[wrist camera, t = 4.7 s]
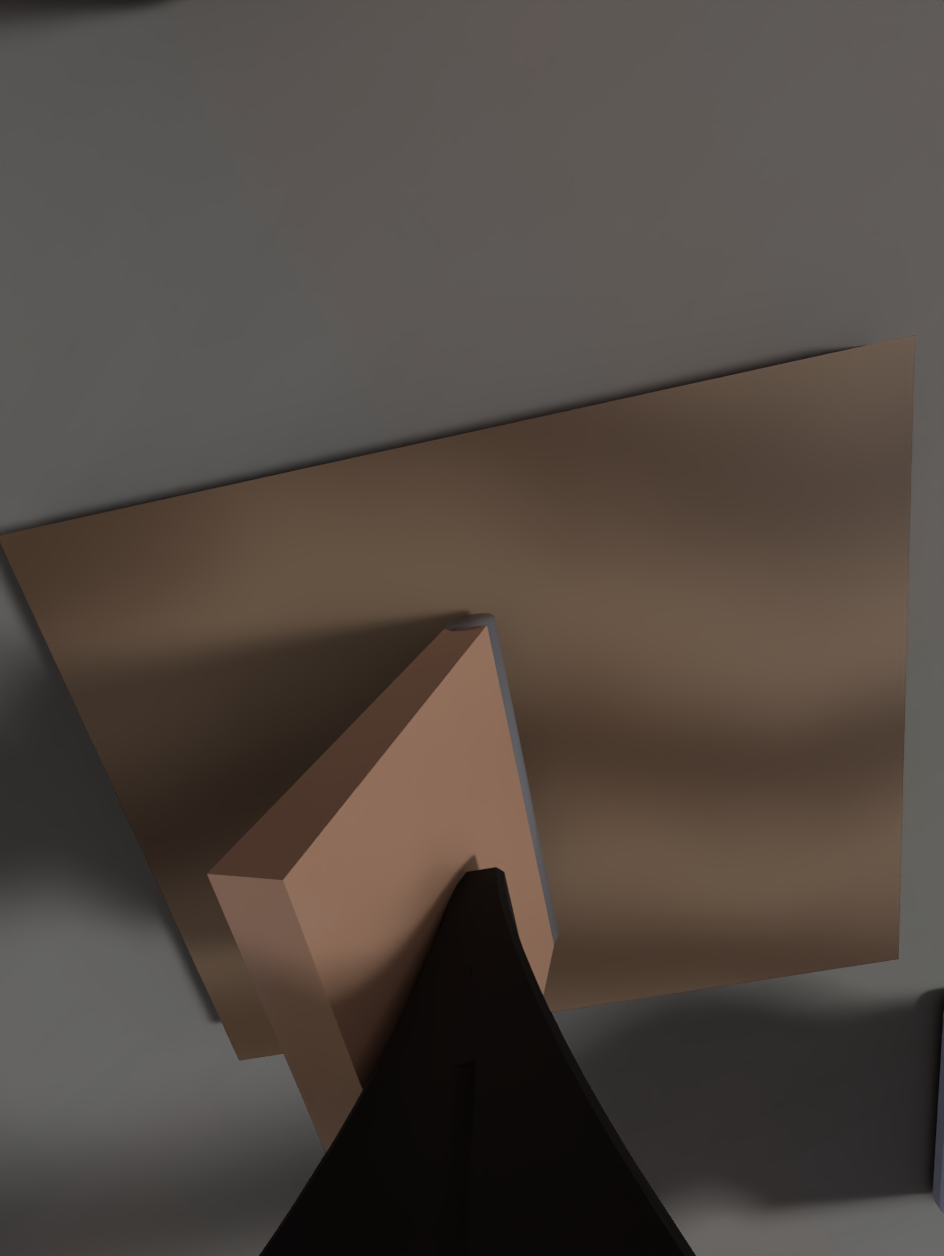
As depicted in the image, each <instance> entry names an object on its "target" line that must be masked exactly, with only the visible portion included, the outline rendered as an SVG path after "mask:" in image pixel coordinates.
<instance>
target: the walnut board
mask: <svg viewBox="0 0 944 1256" xmlns="http://www.w3.org/2000/svg"><path fill="white" fill-rule="evenodd" d="M914 349H915V335H911V336H907V337H902V338H898V339H893V340H889V341H884V342H879V343H875V344H870V345H866V346H861V347H857V348H852V349H848V350H843V351H838V352H834V353H829V354H825V355H820V356H816V357H811V358H806V359H802V360H797V361H793V362H788V363H784V364H779V365H775V366H770V367H765V368H761V369H756V370H752V371H747V372H743V373H738V374H733V375H729V376H724V377H720V378H715V379H711V380H706V381H702V382H697V383H692V384H688V385H683V386H679V387H674V388H670V389H665V390H660V391H656V392H651V393H647V394H642V395H638V396H633V397H628V398H624V399H619V400H615V401H610V402H606V403H601V404H597V405H592V406H587V407H583V408H578V409H574V410H569V411H565V412H560V413H555V414H551V415H546V416H542V417H537V418H533V419H528V420H524V421H519V422H514V423H510V424H505V425H501V426H496V427H492V428H487V429H482V430H478V431H473V432H469V433H464V434H460V435H455V436H451V437H446V438H441V439H437V440H432V441H428V442H423V443H419V444H414V445H409V446H405V447H400V448H396V449H391V450H387V451H382V452H377V453H373V454H368V455H364V456H359V457H355V458H350V459H346V460H341V461H336V462H332V463H327V464H323V465H318V466H314V467H309V468H304V469H300V470H295V471H291V472H286V473H282V474H277V475H273V476H268V477H263V478H259V479H254V480H250V481H245V482H241V483H236V484H231V485H227V486H222V487H218V488H213V489H209V490H204V491H200V492H195V493H190V494H186V495H181V496H177V497H172V498H168V499H163V500H158V501H154V502H149V503H145V504H140V505H136V506H131V507H127V508H122V509H117V510H113V511H108V512H104V513H99V514H95V515H90V516H85V517H81V518H76V519H72V520H67V521H63V522H58V523H53V524H49V525H44V526H40V527H35V528H31V529H26V530H22V531H17V532H12V533H8V534H3V535H0V544H1V546H2V548H3V550H4V552H5V554H6V557H7V559H8V561H9V563H10V565H11V567H12V570H13V572H14V574H15V576H16V578H17V580H18V583H19V585H20V587H21V589H22V591H23V593H24V596H25V598H26V600H27V602H28V604H29V606H30V609H31V611H32V613H33V615H34V617H35V619H36V622H37V624H38V626H39V628H40V630H41V632H42V635H43V637H44V639H45V641H46V643H47V645H48V647H49V650H50V652H51V654H52V656H53V658H54V660H55V663H56V665H57V667H58V669H59V671H60V673H61V676H62V678H63V680H64V682H65V684H66V686H67V689H68V691H69V693H70V695H71V697H72V699H73V702H74V704H75V706H76V708H77V710H78V712H79V715H80V717H81V719H82V721H83V723H84V725H85V728H86V730H87V732H88V734H89V736H90V738H91V741H92V743H93V745H94V747H95V749H96V751H97V754H98V756H99V758H100V760H101V762H102V764H103V767H104V769H105V771H106V773H107V775H108V777H109V780H110V782H111V784H112V786H113V788H114V790H115V793H116V795H117V797H118V799H119V801H120V803H121V806H122V808H123V810H124V812H125V814H126V816H127V819H128V821H129V823H130V825H131V827H132V829H133V832H134V834H135V836H136V838H137V840H138V842H139V845H140V847H141V849H142V851H143V853H144V855H145V858H146V860H147V862H148V864H149V866H150V868H151V871H152V873H153V875H154V877H155V879H156V881H157V884H158V886H159V888H160V890H161V892H162V894H163V897H164V899H165V901H166V903H167V905H168V907H169V910H170V912H171V914H172V916H173V918H174V920H175V923H176V925H177V927H178V929H179V931H180V933H181V936H182V938H183V940H184V942H185V944H186V946H187V949H188V951H189V953H190V955H191V957H192V959H193V962H194V964H195V966H196V968H197V970H198V972H199V974H200V977H201V979H202V981H203V983H204V985H205V987H206V990H207V992H208V994H209V996H210V998H211V1000H212V1003H213V1005H214V1007H215V1009H216V1011H217V1013H218V1016H219V1018H220V1020H221V1022H222V1024H223V1026H224V1029H225V1031H226V1033H227V1035H228V1037H229V1039H230V1042H231V1044H232V1046H233V1048H234V1050H235V1052H236V1055H237V1057H238V1059H239V1060H245V1059H252V1058H258V1057H265V1056H271V1055H278V1054H284V1053H283V1051H282V1049H281V1046H280V1044H279V1042H278V1039H277V1037H276V1035H275V1032H274V1030H273V1028H272V1025H271V1023H270V1020H269V1018H268V1016H267V1013H266V1011H265V1009H264V1006H263V1004H262V1002H261V999H260V997H259V995H258V992H257V990H256V988H255V985H254V983H253V981H252V978H251V976H250V974H249V971H248V969H247V967H246V964H245V962H244V960H243V957H242V955H241V953H240V950H239V948H238V945H237V943H236V941H235V938H234V936H233V934H232V931H231V929H230V927H229V924H228V922H227V920H226V917H225V915H224V913H223V910H222V908H221V906H220V903H219V901H218V899H217V896H216V894H215V892H214V889H213V887H212V885H211V882H210V880H209V877H208V875H207V873H208V872H209V871H210V870H211V869H212V868H213V867H214V866H215V865H216V864H217V863H218V862H219V861H220V860H221V859H222V858H223V857H224V856H225V855H226V854H227V853H228V852H229V851H230V850H231V849H232V848H233V847H234V846H235V844H236V843H237V842H238V841H239V840H240V839H241V838H242V837H243V836H244V835H245V834H246V833H247V832H248V831H249V830H250V829H251V828H252V827H253V826H254V825H255V824H256V823H257V822H258V821H259V820H260V819H261V818H262V817H263V816H264V815H265V814H266V812H267V811H268V810H269V809H270V808H271V807H272V806H273V805H274V804H275V803H276V802H277V801H278V800H279V799H280V798H281V797H282V796H283V795H284V794H285V793H286V792H287V791H288V790H289V789H290V788H291V787H292V786H293V785H294V784H295V783H296V782H297V780H298V779H299V778H300V777H301V776H302V775H303V774H304V773H305V772H306V771H307V770H308V769H309V768H310V767H311V766H312V765H313V764H314V763H315V762H316V761H317V760H318V759H319V758H320V757H321V756H322V755H323V754H324V753H325V752H326V751H327V750H328V748H329V747H330V746H331V745H332V744H333V743H334V742H335V741H336V740H337V739H338V738H339V737H340V736H341V735H342V734H343V733H344V732H345V731H346V730H347V729H348V728H349V727H350V726H351V725H352V724H353V723H354V722H355V721H356V720H357V719H358V718H359V716H360V715H361V714H362V713H363V712H364V711H365V710H366V709H367V708H368V707H369V706H370V705H371V704H372V703H373V702H374V701H375V700H376V699H377V698H378V697H379V696H380V695H381V694H382V693H383V692H384V691H385V690H386V689H387V688H388V687H389V686H390V684H391V683H392V682H393V681H394V680H395V679H396V678H397V677H398V676H399V675H400V674H401V673H402V672H403V671H404V670H405V669H406V668H407V667H408V666H409V665H410V664H411V663H412V662H413V661H414V660H415V659H416V658H417V657H418V656H419V655H420V654H421V652H422V651H423V650H424V649H425V648H426V647H427V646H428V645H429V644H430V643H431V642H432V641H433V640H434V639H435V638H436V637H437V636H438V635H439V634H440V633H441V632H442V631H443V630H444V629H446V628H445V626H446V625H447V624H448V623H449V622H450V621H452V620H454V619H457V618H459V617H462V616H466V615H471V614H477V613H488V614H492V615H494V616H495V621H496V626H497V631H498V636H499V641H500V646H501V651H502V656H503V660H504V665H505V670H506V675H507V680H508V685H509V690H510V695H511V700H512V704H513V709H514V714H515V719H516V724H517V729H518V734H519V739H520V744H521V748H522V753H523V758H524V763H525V768H526V773H527V778H528V783H529V788H530V792H531V797H532V802H533V807H534V812H535V817H536V822H537V827H538V832H539V837H540V841H541V846H542V851H543V856H544V861H545V866H546V871H547V876H548V881H549V885H550V890H551V895H552V900H553V905H554V910H555V915H556V920H557V925H558V930H559V934H558V937H557V939H556V941H555V942H554V948H553V952H552V957H551V962H550V966H549V971H548V976H547V980H546V985H545V990H544V994H543V996H544V998H545V1000H546V1002H547V1005H548V1007H549V1009H550V1011H551V1012H557V1011H564V1010H570V1009H577V1008H583V1007H590V1006H596V1005H603V1004H609V1003H616V1002H622V1001H629V1000H635V999H642V998H648V997H655V996H661V995H668V994H674V993H681V992H687V991H694V990H700V989H707V988H713V987H720V986H726V985H733V984H739V983H746V982H752V981H759V980H765V979H772V978H778V977H785V976H791V975H798V974H804V973H811V972H817V971H824V970H830V969H837V968H843V967H850V966H856V965H863V964H869V963H876V962H882V961H889V960H895V959H898V957H899V919H900V881H901V843H902V805H903V767H904V729H905V691H906V653H907V615H908V577H909V539H910V501H911V463H912V425H913V387H914Z"/></svg>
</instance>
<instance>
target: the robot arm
mask: <svg viewBox="0 0 944 1256" xmlns="http://www.w3.org/2000/svg"><path fill="white" fill-rule="evenodd" d="M933 1199H934V1201H935V1202H936V1204H937V1206H938V1207H939V1209H940V1210H941V1211H942V1212H943V1213H944V1012H943V1029H942V1046H941V1063H940V1079H939V1096H938V1113H937V1130H936V1146H935V1163H934V1180H933ZM259 1256H696V1255H695V1254H694V1252H693V1251H692V1249H691V1247H690V1246H689V1244H688V1243H687V1241H686V1240H685V1238H684V1237H683V1235H682V1234H681V1232H680V1231H679V1229H678V1228H677V1226H676V1224H675V1223H674V1221H673V1220H672V1218H671V1217H670V1215H669V1214H668V1212H667V1211H666V1209H665V1208H664V1206H663V1205H662V1203H661V1201H660V1200H659V1198H658V1197H657V1195H656V1194H655V1192H654V1191H653V1189H652V1188H651V1186H650V1185H649V1183H648V1182H647V1180H646V1178H645V1177H644V1175H643V1174H642V1172H641V1171H640V1169H639V1168H638V1166H637V1165H636V1163H635V1162H634V1160H633V1158H632V1157H631V1155H630V1154H629V1152H628V1150H627V1149H626V1147H625V1145H624V1144H623V1142H622V1140H621V1139H620V1137H619V1135H618V1134H617V1132H616V1130H615V1129H614V1127H613V1125H612V1124H611V1122H610V1120H609V1119H608V1117H607V1115H606V1114H605V1112H604V1110H603V1108H602V1107H601V1105H600V1103H599V1101H598V1100H597V1098H596V1096H595V1094H594V1093H593V1091H592V1089H591V1087H590V1086H589V1084H588V1082H587V1080H586V1078H585V1077H584V1075H583V1073H582V1071H581V1069H580V1068H579V1066H578V1064H577V1062H576V1060H575V1058H574V1056H573V1054H572V1053H571V1051H570V1049H569V1047H568V1045H567V1043H566V1041H565V1039H564V1037H563V1035H562V1033H561V1031H560V1029H559V1027H558V1025H557V1023H556V1021H555V1019H554V1017H553V1015H552V1013H551V1011H550V1009H549V1007H548V1005H547V1002H546V1000H545V998H544V996H543V994H542V992H541V989H540V987H539V985H538V983H537V980H536V978H535V975H534V973H533V971H532V968H531V966H530V963H529V961H528V959H527V956H526V954H525V951H524V949H523V946H522V944H521V941H520V938H519V934H518V929H517V925H516V920H515V916H514V912H513V907H512V903H511V898H510V894H509V890H508V885H507V881H506V877H505V872H504V871H502V870H501V869H499V868H497V867H493V868H487V869H481V870H475V871H468V872H466V874H465V875H464V876H463V877H462V879H461V880H460V881H459V882H458V884H457V885H456V887H455V889H454V891H453V894H452V896H451V898H450V900H449V902H448V904H447V907H446V909H445V911H444V914H443V917H442V919H441V922H440V925H439V927H438V930H437V933H436V935H435V938H434V940H433V943H432V946H431V948H430V950H429V953H428V955H427V957H426V960H425V962H424V965H423V967H422V969H421V972H420V974H419V976H418V979H417V981H416V983H415V986H414V988H413V990H412V993H411V995H410V997H409V999H408V1001H407V1003H406V1006H405V1008H404V1010H403V1012H402V1014H401V1016H400V1018H399V1020H398V1022H397V1024H396V1026H395V1028H394V1030H393V1032H392V1034H391V1036H390V1038H389V1040H388V1042H387V1044H386V1046H385V1048H384V1051H383V1053H382V1055H381V1057H380V1059H379V1060H378V1062H377V1064H376V1066H375V1068H374V1070H373V1072H372V1074H371V1075H370V1077H369V1079H368V1081H367V1083H366V1085H365V1087H364V1088H363V1090H362V1092H361V1094H360V1096H359V1097H358V1099H357V1101H356V1103H355V1105H354V1106H353V1108H352V1110H351V1112H350V1113H349V1115H348V1117H347V1118H346V1120H345V1122H344V1124H343V1125H342V1127H341V1129H340V1130H339V1132H338V1134H337V1136H336V1137H335V1139H334V1141H333V1142H332V1144H331V1146H330V1147H329V1149H328V1150H327V1152H326V1154H325V1155H324V1157H323V1158H322V1160H321V1162H320V1163H319V1165H318V1166H317V1168H316V1170H315V1171H314V1173H313V1174H312V1176H311V1178H310V1179H309V1181H308V1182H307V1184H306V1185H305V1187H304V1189H303V1190H302V1192H301V1193H300V1195H299V1197H298V1198H297V1200H296V1201H295V1203H294V1205H293V1206H292V1208H291V1209H290V1211H289V1212H288V1214H287V1215H286V1217H285V1218H284V1220H283V1221H282V1223H281V1224H280V1226H279V1227H278V1229H277V1230H276V1232H275V1233H274V1235H273V1236H272V1238H271V1239H270V1241H269V1242H268V1244H267V1245H266V1246H265V1248H264V1249H263V1251H262V1252H261V1254H260V1255H259Z"/></svg>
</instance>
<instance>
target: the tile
mask: <svg viewBox="0 0 944 1256" xmlns="http://www.w3.org/2000/svg"><path fill="white" fill-rule="evenodd" d="M445 628H446V629H444V630H443V631H442V632H441V633H440V634H439V635H438V636H437V637H436V638H435V639H434V640H433V641H432V642H431V643H430V644H429V645H428V646H427V647H426V648H425V649H424V650H423V651H422V652H421V654H420V655H419V656H418V657H417V658H416V659H415V660H414V661H413V662H412V663H411V664H410V665H409V666H408V667H407V668H406V669H405V670H404V671H403V672H402V673H401V674H400V675H399V676H398V677H397V678H396V679H395V680H394V681H393V682H392V683H391V684H390V686H389V687H388V688H387V689H386V690H385V691H384V692H383V693H382V694H381V695H380V696H379V697H378V698H377V699H376V700H375V701H374V702H373V703H372V704H371V705H370V706H369V707H368V708H367V709H366V710H365V711H364V712H363V713H362V714H361V715H360V716H359V718H358V719H357V720H356V721H355V722H354V723H353V724H352V725H351V726H350V727H349V728H348V729H347V730H346V731H345V732H344V733H343V734H342V735H341V736H340V737H339V738H338V739H337V740H336V741H335V742H334V743H333V744H332V745H331V746H330V747H329V748H328V750H327V751H326V752H325V753H324V754H323V755H322V756H321V757H320V758H319V759H318V760H317V761H316V762H315V763H314V764H313V765H312V766H311V767H310V768H309V769H308V770H307V771H306V772H305V773H304V774H303V775H302V776H301V777H300V778H299V779H298V780H297V782H296V783H295V784H294V785H293V786H292V787H291V788H290V789H289V790H288V791H287V792H286V793H285V794H284V795H283V796H282V797H281V798H280V799H279V800H278V801H277V802H276V803H275V804H274V805H273V806H272V807H271V808H270V809H269V810H268V811H267V812H266V814H265V815H264V816H263V817H262V818H261V819H260V820H259V821H258V822H257V823H256V824H255V825H254V826H253V827H252V828H251V829H250V830H249V831H248V832H247V833H246V834H245V835H244V836H243V837H242V838H241V839H240V840H239V841H238V842H237V843H236V844H235V846H234V847H233V848H232V849H231V850H230V851H229V852H228V853H227V854H226V855H225V856H224V857H223V858H222V859H221V860H220V861H219V862H218V863H217V864H216V865H215V866H214V867H213V868H212V869H211V870H210V871H209V872H208V873H207V875H208V877H209V880H210V882H211V885H212V887H213V889H214V892H215V894H216V896H217V899H218V901H219V903H220V906H221V908H222V910H223V913H224V915H225V917H226V920H227V922H228V924H229V927H230V929H231V931H232V934H233V936H234V938H235V941H236V943H237V945H238V948H239V950H240V953H241V955H242V957H243V960H244V962H245V964H246V967H247V969H248V971H249V974H250V976H251V978H252V981H253V983H254V985H255V988H256V990H257V992H258V995H259V997H260V999H261V1002H262V1004H263V1006H264V1009H265V1011H266V1013H267V1016H268V1018H269V1020H270V1023H271V1025H272V1028H273V1030H274V1032H275V1035H276V1037H277V1039H278V1042H279V1044H280V1046H281V1049H282V1051H283V1053H284V1056H285V1058H286V1060H287V1063H288V1065H289V1067H290V1070H291V1072H292V1074H293V1077H294V1079H295V1081H296V1084H297V1086H298V1088H299V1091H300V1093H301V1096H302V1098H303V1100H304V1103H305V1105H306V1107H307V1110H308V1112H309V1114H310V1117H311V1119H312V1121H313V1124H314V1126H315V1128H316V1131H317V1133H318V1135H319V1138H320V1140H321V1142H322V1145H323V1147H324V1149H325V1152H327V1150H328V1149H329V1147H330V1146H331V1144H332V1142H333V1141H334V1139H335V1137H336V1136H337V1134H338V1132H339V1130H340V1129H341V1127H342V1125H343V1124H344V1122H345V1120H346V1118H347V1117H348V1115H349V1113H350V1112H351V1110H352V1108H353V1106H354V1105H355V1103H356V1101H357V1099H358V1097H359V1096H360V1094H361V1092H362V1090H363V1088H364V1087H365V1085H366V1083H367V1081H368V1079H369V1077H370V1075H371V1074H372V1072H373V1070H374V1068H375V1066H376V1064H377V1062H378V1060H379V1059H380V1057H381V1055H382V1053H383V1051H384V1048H385V1046H386V1044H387V1042H388V1040H389V1038H390V1036H391V1034H392V1032H393V1030H394V1028H395V1026H396V1024H397V1022H398V1020H399V1018H400V1016H401V1014H402V1012H403V1010H404V1008H405V1006H406V1003H407V1001H408V999H409V997H410V995H411V993H412V990H413V988H414V986H415V983H416V981H417V979H418V976H419V974H420V972H421V969H422V967H423V965H424V962H425V960H426V957H427V955H428V953H429V950H430V948H431V946H432V943H433V940H434V938H435V935H436V933H437V930H438V927H439V925H440V922H441V919H442V917H443V914H444V911H445V909H446V907H447V904H448V902H449V900H450V898H451V896H452V894H453V891H454V889H455V887H456V885H457V884H458V882H459V881H460V880H461V879H462V877H463V876H464V875H465V874H466V872H468V871H475V870H481V869H487V868H493V867H497V868H499V869H501V870H502V871H504V872H505V877H506V881H507V885H508V890H509V894H510V898H511V903H512V907H513V912H514V916H515V920H516V925H517V929H518V934H519V938H520V941H521V944H522V946H523V949H524V951H525V954H526V956H527V959H528V961H529V963H530V966H531V968H532V971H533V973H534V975H535V978H536V980H537V983H538V985H539V987H540V989H541V992H542V994H544V990H545V985H546V980H547V976H548V971H549V966H550V962H551V957H552V952H553V948H554V942H555V941H556V939H557V937H558V934H559V930H558V925H557V920H556V915H555V910H554V905H553V900H552V895H551V890H550V885H549V881H548V876H547V871H546V866H545V861H544V856H543V851H542V846H541V841H540V837H539V832H538V827H537V822H536V817H535V812H534V807H533V802H532V797H531V792H530V788H529V783H528V778H527V773H526V768H525V763H524V758H523V753H522V748H521V744H520V739H519V734H518V729H517V724H516V719H515V714H514V709H513V704H512V700H511V695H510V690H509V685H508V680H507V675H506V670H505V665H504V660H503V656H502V651H501V646H500V641H499V636H498V631H497V626H496V621H495V616H494V615H492V614H488V613H477V614H471V615H466V616H462V617H459V618H457V619H454V620H452V621H450V622H449V623H448V624H447V625H446V626H445Z"/></svg>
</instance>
